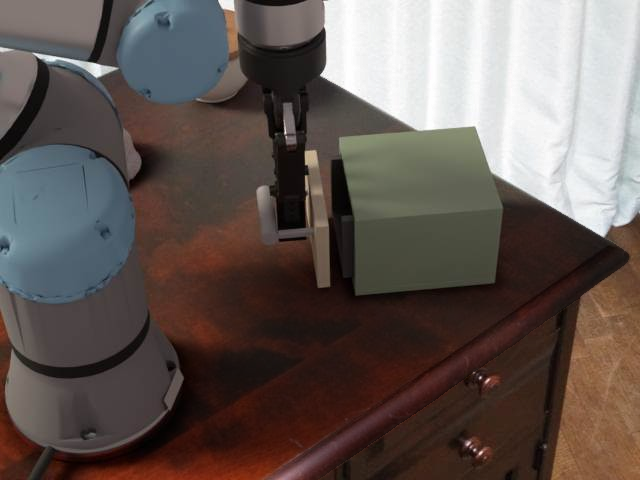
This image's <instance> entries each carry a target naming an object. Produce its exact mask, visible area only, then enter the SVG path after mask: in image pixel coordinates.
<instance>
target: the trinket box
mask: <svg viewBox="0 0 640 480" xmlns="http://www.w3.org/2000/svg"><path fill="white" fill-rule="evenodd" d="M222 9H223V11H224V12H225V18H226V29H227V35H228V42H229V60H228V67H227V68H226V70H225V72H224V74H223V76H222V78H221V79H220V81H219V82H218V83H217V84H216V85H215V87H214V88H213V89H211V90H210V91H209V92H208V93H206V94H205V95H203V96H201V97H200V98H198V99H195V100H196V101H198V102H202V103H208V104H210V103H211V104H214V103H215V104H217V103H222V102H225V101H228V100H230V99H232V98H233V97H235V96H236V95H237V94H238V92H239V91H240V90H241V89H242V88H243V87H244V86H245V85H246V84H247V82H248V80H249V79H247V78H246V77H245V76H244V74H243V73H242V71H241V68H240V63H239V51H238V39H237V34H238V30H237V29H236V23H235V10H232V9H227V8H222Z"/></svg>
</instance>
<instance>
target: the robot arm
mask: <svg viewBox="0 0 640 480" xmlns="http://www.w3.org/2000/svg"><path fill="white" fill-rule="evenodd" d="M327 1H329V0H233V9H234V10H233V11H235V23H236V29H237V30H238V34H237V39H238V51H239V63H240V68H241V71H242V73H243V74H244V76H245V77H246V78H247V79H248V80H249V81H250V82H251V83H253V84H254V85H257V86H260V87H261V95H262V103H263V104H262V105H263V112H264V115H265V116H266V120H267V121H266V122H267V131H268V137H269V138H270V139H271V141H272V152H271V158H272V159H273V162H274V168H273V175H274V176H275V179H276V180H274V184H273V185H272V184H271V185H268V186H269V191H270V196H276V198H275V212H276V223H277V231H278V230H289V229H301V228H307V219H306V217H307V213H306V196H307V192H306V190H305V187H306V185H305V176H306V175H309V169H308V165H305V151H306V143H307V142H308V141H307V140H308V139H307V132H308V123H307V122H308V121H307V113H308V112H309V110H310V101H309V100H310V99H309V98H310V97H309V92H308V90H307V85H308V84H311V83H312V82H314V81H315V80H316V79H318V78H319V77H320V76H322V74H323V73H324V71H325V69H326V66H327V31H326V27H325V24H326V7H325V2H327ZM223 9H224V8H223V7H222V6H221V4H220V1H219V0H0V48H3V49H8V50H3V51H0V312H1V315H2V316H1V317H2V320H3V322H4V325H5V330H6V333H7V336H8V339H9V342H10V346H11V353H10V359H9V360H10V361H9V368H8V372H7V374H6V375H7V376H6V380H5V385H4V386H5V387H4V402H5V406H6V410H7V413H8V417H9V419H10V422H11V425H12V427H13V429H14V431H15V432H16V434H17V435H18V437H19V438H20V439H21V440H22V441H23V442H24V443H25V444H26V445H27V446H29V447H30V448H31V449H33V450H34V451H36V452H38V453H40V454H41V455H40V457H39V458H38V460H37V462H36V463H35V465H34V467H33V468H32V471H31V472H30V473H29V476H28V477H27V478H26V480H41V479H42V478H43V476H44V474H45V472H46V471H47V469H48V467H49V465H50V463H51V462H52V460H53V459H56V460H60V461H64V462H65V461H66V462H74V463H75V462H76V463H85V462H87V463H89V462H98V461H103V460H108V459H113V458H116V457H119V456H122V455H125V454H127V453H130V452H131V451H134V450H136V449H137V448H139V447H141V446H143V445H144V444H146V443H148V442H149V441H150V440H152V439H153V438H154V437H155V436H157V435H158V434H159V433H160V432H161V431H162V430H163V429H164V428H165V427H166V426H167V424H168V423H169V422H170V420H171V419H172V417H173V416H174V414H175V412H176V411H177V409H178V406H179V405H180V402H181V398H182V392H183V381H184V379H185V377H184V375H183V373H182V370H181V364H180V360H179V356H178V354H177V351H176V349H175V348H174V346H173V344H172V343H171V341H170V340H169V338H167V336H166V334H165V333H164V332H163V330H162V329H161V328H160V326H159V324H157V322H156V321H155V319H154V318H153V316H152V315H151V314H150V308H149V302H148V296H147V289H146V285H145V278H144V273H143V267H142V260H141V255H140V249H139V243H138V238H137V231H136V226H137V225H136V222H137V221H136V212H135V208H134V202H133V199H132V195H131V189H130V187H131V186H130V181H129V179H128V171H127V163H126V155H125V147H124V138H123V128H124V127H123V122H122V120H121V117H120V114H119V112H118V110H117V107H116V105H115V102H114V100H113V97H112V96H111V94H110V92H109V91H108V89H107V88H106V87H105V85H104V84H103V83H102V82H101V81H100V80H99V79H98V78H97V77H96V76H95V75H93V74H92V73H91V72H90V71H88V69H87V70H86V69H85V68H83V67H82V66H79V65H78V64H76V63H72V62H69V61H67V60H62V59H68V60H72V61H79V62H84V63H90V64H96V65H99V66H102V67H103V66H104V67H111V68H116V69H118V70H119V72H120V73H121V75H122V76H123V78H124V80H125V82H126V83H127V85H128V86H129V87H130V88H131V89H132V90H133V91H134V92H136V93H137V94H138V95H140V96H142V97H143V98H145V99H147V100H148V101H150V102H153V103H156V104H163V105H181V104H186V103H190V102H192V101H195V100H196V99H198V98H200V97H201V96H203V95H205V94H206V93H208V92H209V91H210V90H211V89H213V88H214V87H215V85H216V84H217V83H218V82H219V81H220V79H221V78H222V76H223V74H224V72H225V70H226V68H227V67H228V60H229V42H228V35H227V29H226V18H225V12H224V11H223ZM36 54H38V55H43V56H50V57H57V58H61V59H55V60H53V61H52V60H46V59H45V58H39V57H38V56H37V55H36ZM297 241H307V236H306V237H294V238H282V239H278V243H287V242H297Z"/></svg>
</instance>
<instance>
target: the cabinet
mask: <svg viewBox="0 0 640 480" xmlns="http://www.w3.org/2000/svg"><path fill="white" fill-rule="evenodd" d="M338 149H339V151H338V153H339V154H341V155H342V160H343V166H344V171H345V176H346V181H347V187H348V192H349V197H350V202H351V207H352V213H353V218H354V277H351V278H352V285H353V291H354V295H355V296H366V295H376V294H391V293H401V292H410V291H412V292H413V291H423V290H433V289H444V288H445V289H446V288H455V287H456V288H457V287H468V286H469V287H470V286H478V285H490V284H491V285H492V284H495V283H496V277H497V276H496V275H497V266H498V258H499V249H500V240H501V233H502V232H501V231H502V222H503V214H504V206H503V204H502V200H501V198H500V195H499V192H498V188H497V186H496V183H495V180H494V177H493V174H492V171H491V168H490V166H489V163H488V159H487V157H486V153H485V151H484V148H483V145H482V142H481V138H480V137H479V133H478V130H477V127H476V126H475V125H474V126H473V125H472V126H461V127H448V128H436V129H425V130H423V129H422V130H411V131H410V130H409V131H399V132H387V133H385V132H384V133H375V134H362V135H349V136H339V137H338Z"/></svg>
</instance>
